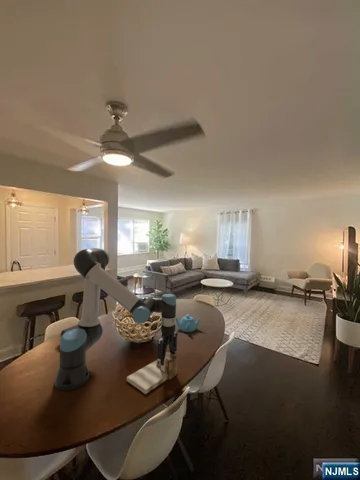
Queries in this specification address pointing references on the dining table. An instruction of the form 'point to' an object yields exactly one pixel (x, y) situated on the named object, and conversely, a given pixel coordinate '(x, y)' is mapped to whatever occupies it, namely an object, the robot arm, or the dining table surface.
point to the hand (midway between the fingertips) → (166, 368)
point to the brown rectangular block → (169, 365)
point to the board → (147, 377)
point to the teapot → (187, 323)
